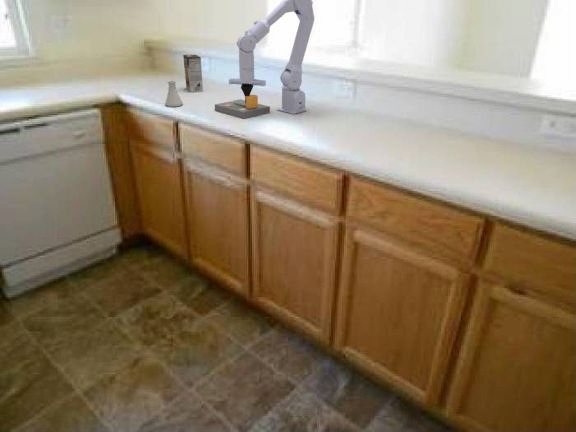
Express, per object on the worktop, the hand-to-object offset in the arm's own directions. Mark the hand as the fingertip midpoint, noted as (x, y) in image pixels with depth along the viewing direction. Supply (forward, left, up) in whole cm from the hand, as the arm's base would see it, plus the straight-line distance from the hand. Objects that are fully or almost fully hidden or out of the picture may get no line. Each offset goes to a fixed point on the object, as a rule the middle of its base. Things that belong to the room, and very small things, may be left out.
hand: (247, 103), depth 179 cm
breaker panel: (+3, 0, -4) cm, 5 cm away
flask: (+31, +14, -4) cm, 35 cm away
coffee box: (+51, -11, -4) cm, 53 cm away
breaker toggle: (-3, 0, -1) cm, 3 cm away
